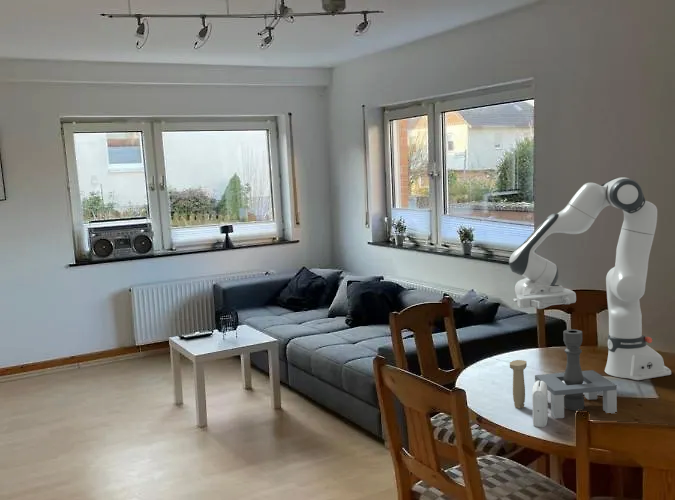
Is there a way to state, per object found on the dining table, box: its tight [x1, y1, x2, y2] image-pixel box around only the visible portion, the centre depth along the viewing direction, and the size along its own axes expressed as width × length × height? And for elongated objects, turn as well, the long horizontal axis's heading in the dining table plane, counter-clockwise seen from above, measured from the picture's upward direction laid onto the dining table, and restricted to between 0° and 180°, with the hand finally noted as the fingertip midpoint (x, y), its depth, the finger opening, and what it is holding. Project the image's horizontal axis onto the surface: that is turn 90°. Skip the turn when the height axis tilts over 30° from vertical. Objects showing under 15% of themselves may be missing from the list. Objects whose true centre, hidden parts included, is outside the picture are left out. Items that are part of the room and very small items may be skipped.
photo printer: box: [531, 381, 549, 428], centre depth 206 cm, size 10×4×12 cm, turn 160°
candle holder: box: [562, 329, 585, 411], centre depth 215 cm, size 6×6×25 cm
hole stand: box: [534, 369, 618, 420], centre depth 216 cm, size 20×16×9 cm
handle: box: [509, 359, 527, 410], centre depth 218 cm, size 5×6×15 cm
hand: (554, 303), depth 227 cm, fingers open, 8 cm apart
